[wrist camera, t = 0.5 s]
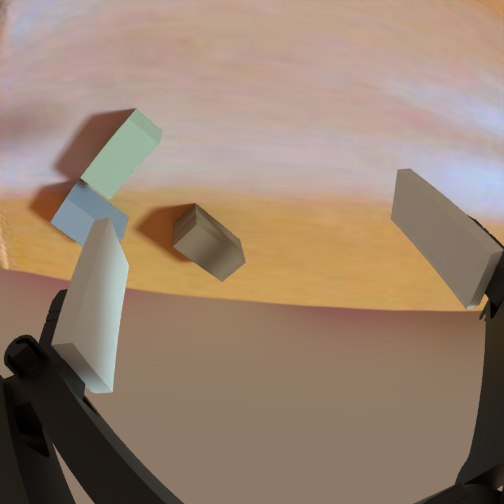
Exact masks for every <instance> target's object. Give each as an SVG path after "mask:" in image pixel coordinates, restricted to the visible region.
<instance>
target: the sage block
mask: <svg viewBox="0 0 504 504" xmlns="http://www.w3.org/2000/svg"><path fill="white" fill-rule="evenodd" d="M162 132H163V131H162V130H161V129H160V128H159V127H157V126H156V125H155V124H154V123H153V122H152V121H150V120H149V119H148V118H147V117H146V116H145V115H144V114H142V113H141V112H140V111H139V110H138V109H137V108H136V109H135V110H134V112H133V113H132V114H131V115H130V116H129V117H128V118H127V119H126V121H125V122H124V123H123V124H122V125H121V126H120V127H119V129H118V130H117V131H116V132H115V133H114V135H113V136H112V137H111V138H110V139H109V141H108V142H107V143H106V144H105V145H104V147H103V148H102V149H101V150H100V152H99V153H98V154H97V156H96V157H95V158H94V159H93V161H92V162H91V163H90V165H89V166H88V168H87V169H86V170H85V172H84V173H83V175H82V176H81V179H83V180H84V181H85V182H87V183H88V184H89V185H90V186H92V187H93V188H94V189H96V190H97V191H98V192H99V193H101V194H102V195H103V196H105V197H106V198H107V199H109V200H110V199H111V198H112V196H113V195H114V194H115V193H116V192H117V190H118V189H119V188H120V187H121V186H122V185H123V183H124V182H125V181H126V180H127V179H128V178H129V176H130V175H131V174H132V173H133V172H134V171H135V170H136V169H137V167H138V166H139V165H140V164H141V163H142V162H143V161H144V160H145V159H146V158H147V156H148V155H149V154H150V153H151V152H152V151H153V150H154V149H155V148H156V147H157V146H158V145H159V142H160V139H161V136H162Z"/></svg>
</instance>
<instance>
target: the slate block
mask: <svg viewBox="0 0 504 504" xmlns="http://www.w3.org/2000/svg"><path fill="white" fill-rule="evenodd" d="M108 217H110V219H111V222H112V224H113V227H114V230H115V232H116V235H117V238H118V240H119V242H120V241H121V240H122V239H123V235H124V231H125V228H126V224H127V220H128V216H127V215H125V214H124V213H122V212H121V211H120V210H118V209H117V208H116V207H114V206H113V205H112V204H110V203H109V202H108V201H106V200H105V199H104V198H102V197H101V196H100V195H98V194H97V193H96V192H95V191H93V190H92V189H91V188H89V187H88V186H87V185H85V184H84V183H83V182H81V181H80V180H78V181H77V182H76V184H75V185H74V187H73V188H72V189H71V191H70V192H69V194H68V195H67V197H66V198H65V200H64V201H63V203H62V204H61V206H60V207H59V209H58V211H57V212H56V214H55V215H54V217H53V219H52V220H51V222H50V223H51V224H52V225H54V226H55V227H56V228H58V229H59V230H60V231H62V232H63V233H65V234H66V235H68V236H69V237H70V238H72V239H73V240H75V241H76V242H77V243H79V244H80V245H82V246H83V247H84V244H85V241H86V239H87V237H88V234H89V232H90V229H91V227H92V225H93V222H94V221H95V220H99V219H103V218H108Z"/></svg>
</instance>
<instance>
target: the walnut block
mask: <svg viewBox="0 0 504 504" xmlns="http://www.w3.org/2000/svg"><path fill="white" fill-rule="evenodd" d="M173 248H175V249H176V250H178V251H179V252H180V253H182V254H183V255H185V256H186V257H187V258H189V259H190V260H192V261H193V262H194V263H196V264H197V265H199V266H200V267H202V268H203V269H204V270H206V271H207V272H209V273H210V274H212V275H213V276H214V277H216V278H217V279H219V280H220V281H224V280H225V279H226V278H227V277H228V276H230V275H231V274H232V273H233V272H235V271H236V270H237V269H238V268H240V267H241V266H242V265H243V264H244V263H246V262H245V258H244V254H243V250H242V246H241V242H240V239H238V238H237V237H236V236H235V235H234V234H232V233H231V232H230V231H229V230H228V229H226V228H225V227H224V226H223V225H221V224H220V223H219V222H218V221H217V220H215V219H214V218H213V217H212V216H210V215H209V214H208V213H207V212H206V211H204V210H203V209H202V208H201V207H199V206H198V205H197V204H196V203H195V204H194V205H193V206H192V207H191V208H190V209H189V210H188V211H187V212H186V213H185V214H184V215H183V216H182V217H181V218H180V219H179V220H178V221H177V222H176V223H175V224H174V228H173Z"/></svg>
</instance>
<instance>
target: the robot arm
mask: <svg viewBox="0 0 504 504" xmlns="http://www.w3.org/2000/svg"><path fill="white" fill-rule="evenodd" d="M391 220H392V221H393V222H394V223H395V224H396V225H397V226H398V227H399V228H400V229H401V230H402V232H403V233H404V234H405V235H406V236H407V237H408V238H409V239H410V241H411V242H412V243H413V244H414V245H415V246H416V247H417V249H418V250H419V251H420V252H421V253H422V254H423V256H424V257H425V258H426V259H427V260H428V262H429V263H430V264H431V265H432V266H433V268H434V269H435V270H436V271H437V273H438V274H439V275H440V276H441V277H442V279H443V280H444V281H445V282H446V284H447V285H448V286H449V288H450V289H451V290H452V291H453V293H454V294H455V295H456V297H457V298H458V299H459V301H460V302H461V303H462V304H463V306H464V307H465V309H466V310H468V309H470V308H472V307H475V306H477V305H479V304H480V302H481V300H482V298H483V296H484V294H486V295H487V297H488V298H489V299H488V301H487V303H486V305H485V307H484V309H483V311H482V313H481V314H480V318H479V319H482V317H483V316H484V315H485V314H486V318H485V321H486V334H485V353H484V366H483V377H482V386H481V394H480V401H479V408H478V414H477V420H476V425H475V431H474V436H473V440H472V445H471V450H470V454H469V457H468V459H467V460H466V462H465V463H464V465H463V466H462V468H461V470H460V472H459V474H458V476H457V479H456V482H455V485H453V486H451V487H449V488H447V489H445V490H443V491H440V492H438V493H436V494H434V495H432V496H429V497H427V498H425V499H423V500H421V501H418V502H416V503H414V504H504V246H503V245H502V244H501V243H500V242H499V241H498V240H497V239H496V238H495V237H494V236H493V235H492V234H489V232H488V231H487V230H486V229H485V228H483V226H482V225H481V224H480V223H479V222H478V221H476V220H475V219H473V218H472V217H470V216H468V215H466V214H465V213H464V212H463V211H462V210H461V209H459V208H458V207H457V206H456V205H455V204H454V203H452V202H451V201H450V200H449V199H448V198H447V197H445V196H444V195H443V194H442V193H440V192H439V191H438V190H437V189H436V188H434V187H433V186H432V185H431V184H429V183H428V182H427V181H425V180H424V179H423V178H422V177H420V176H419V175H418V174H416V173H415V172H414V171H412V170H411V169H401V170H397V178H396V186H395V194H394V201H393V208H392V214H391ZM128 269H129V265H128V263H127V261H126V258H125V256H124V253H123V251H122V248H121V245H120V243H119V240H118V238H117V235H116V232H115V230H114V227H113V224H112V222H111V219H110V217H108V218H103V219H99V220H95V221H94V222H93V225H92V227H91V229H90V232H89V234H88V237H87V239H86V241H85V244H84V247H83V249H82V252H81V254H80V257H79V259H78V262H77V265H76V268H75V270H74V273H73V276H72V279H71V282H70V285H69V287H68V289H65V290H60V291H59V292H58V294H57V295H56V297H55V298H54V299H53V301H52V303H51V306H50V309H49V314H48V315H47V318H46V323H45V324H44V328H43V331H42V334H41V337H40V340H39V344H38V342H37V341H36V340H35V339H34V338H33V337H32V336H30V335H22V336H19V337H18V338H16V339H14V340H13V341H12V342H11V343H10V345H9V346H8V348H7V349H6V351H5V355H4V363H5V365H6V366H7V367H8V368H9V369H10V370H11V371H12V372H13V374H14V375H13V376H10V377H8V378H5V379H4V378H3V377H2V376H1V375H0V504H76V503H75V501H74V499H73V496H72V494H71V492H70V489H69V487H68V484H67V482H66V479H65V477H64V474H63V472H62V469H61V466H60V463H59V461H58V458H57V455H56V452H55V449H54V446H55V447H56V449H57V450H58V452H59V454H60V455H61V457H62V458H63V460H64V461H65V463H66V464H67V466H68V467H69V469H70V470H71V472H72V473H73V475H74V476H75V478H76V479H77V480H78V482H79V483H80V485H81V486H82V487H83V489H84V490H85V491H86V493H87V494H88V495H89V497H90V498H91V499H92V501H93V502H94V503H95V504H184V503H182V501H181V500H179V499H178V498H177V497H176V496H175V495H174V494H173V493H172V492H171V491H170V490H168V489H167V488H166V487H165V486H164V485H163V484H162V483H161V482H160V481H159V480H158V479H157V478H156V477H155V476H154V475H153V474H152V473H151V472H150V471H149V470H148V469H147V468H146V467H145V466H144V465H143V464H142V463H141V462H140V460H139V459H138V458H137V457H136V456H135V455H134V454H133V453H132V452H131V451H130V450H129V448H128V447H127V446H126V445H125V444H124V443H123V442H122V441H121V440H120V438H119V437H118V436H117V435H116V434H115V433H114V431H113V430H112V429H111V428H110V426H109V425H108V424H107V423H106V422H105V420H104V419H103V418H102V417H101V415H100V414H99V413H98V412H97V410H96V409H95V407H94V406H93V405H92V404H91V402H90V401H89V400H88V398H87V397H86V396H85V395H84V390H85V385H86V386H87V387H88V388H89V389H90V390H91V391H92V393H106V392H113V380H114V368H115V359H116V350H117V341H118V333H119V326H120V318H121V311H122V305H123V298H124V291H125V286H126V280H127V275H128ZM52 442H53V443H52ZM53 444H54V446H53ZM502 485H503V490H502V492H501V491H499V490H497V489H498V488H499V487H500V486H502Z"/></svg>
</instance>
